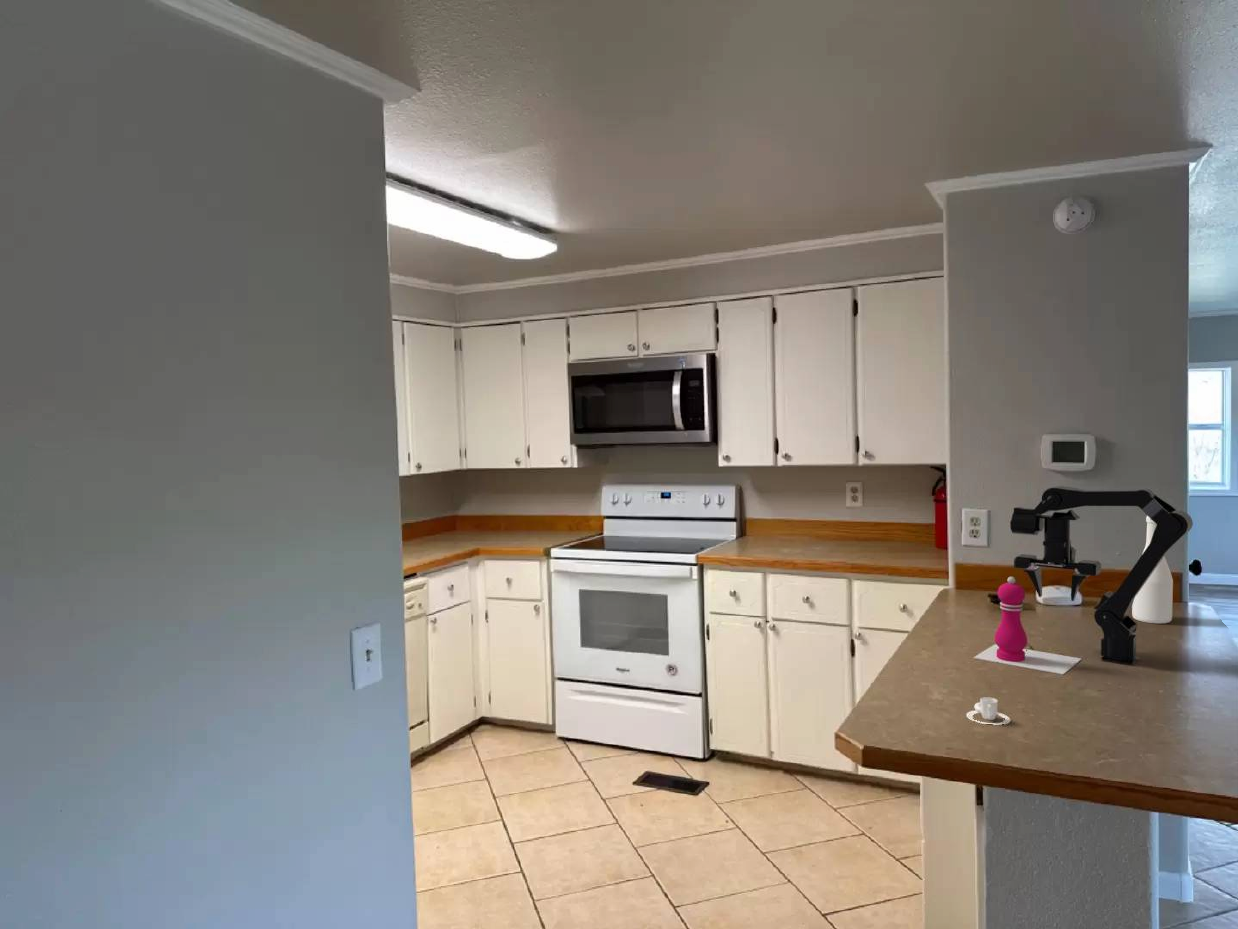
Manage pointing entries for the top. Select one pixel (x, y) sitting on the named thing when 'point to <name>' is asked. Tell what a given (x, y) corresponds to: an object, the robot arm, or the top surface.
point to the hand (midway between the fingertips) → (1056, 598)
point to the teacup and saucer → (987, 711)
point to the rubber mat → (1034, 660)
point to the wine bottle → (1154, 590)
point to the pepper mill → (1011, 623)
